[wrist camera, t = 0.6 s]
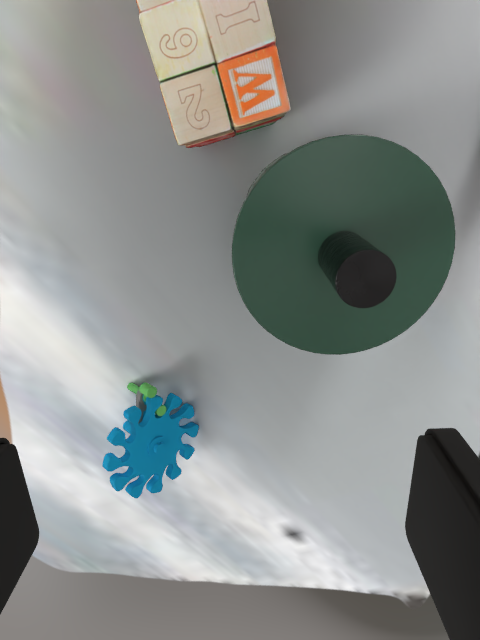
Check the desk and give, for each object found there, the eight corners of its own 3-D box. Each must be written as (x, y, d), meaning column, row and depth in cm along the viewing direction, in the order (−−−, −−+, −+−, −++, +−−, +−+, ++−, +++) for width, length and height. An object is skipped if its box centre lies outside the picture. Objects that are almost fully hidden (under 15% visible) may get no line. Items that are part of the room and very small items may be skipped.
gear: (201, 475, 44) (112, 520, 37) (167, 452, 48) (81, 488, 41) (204, 375, 41) (108, 403, 34) (168, 359, 45) (76, 380, 38)
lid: (275, 101, 23) (287, 81, 16) (484, 180, 24) (566, 190, 18) (206, 310, 27) (195, 356, 21) (385, 367, 28) (424, 426, 22)
